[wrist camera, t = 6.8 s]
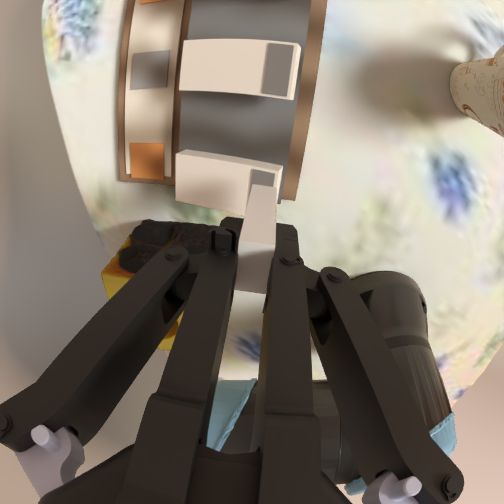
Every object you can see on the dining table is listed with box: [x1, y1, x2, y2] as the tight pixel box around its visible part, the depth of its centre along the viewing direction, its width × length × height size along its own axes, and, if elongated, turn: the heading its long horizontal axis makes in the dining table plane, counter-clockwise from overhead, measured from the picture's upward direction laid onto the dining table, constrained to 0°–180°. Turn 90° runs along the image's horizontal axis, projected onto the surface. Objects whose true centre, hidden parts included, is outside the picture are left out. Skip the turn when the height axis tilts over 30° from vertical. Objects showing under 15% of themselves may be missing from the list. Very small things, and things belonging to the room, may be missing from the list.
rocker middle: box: [179, 39, 301, 100], centre depth 16 cm, size 4×8×2 cm, turn 83°
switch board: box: [118, 0, 327, 204], centre depth 19 cm, size 23×18×4 cm
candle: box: [101, 219, 218, 351], centre depth 28 cm, size 10×10×10 cm
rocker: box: [176, 149, 283, 216], centre depth 21 cm, size 4×8×2 cm, turn 84°
